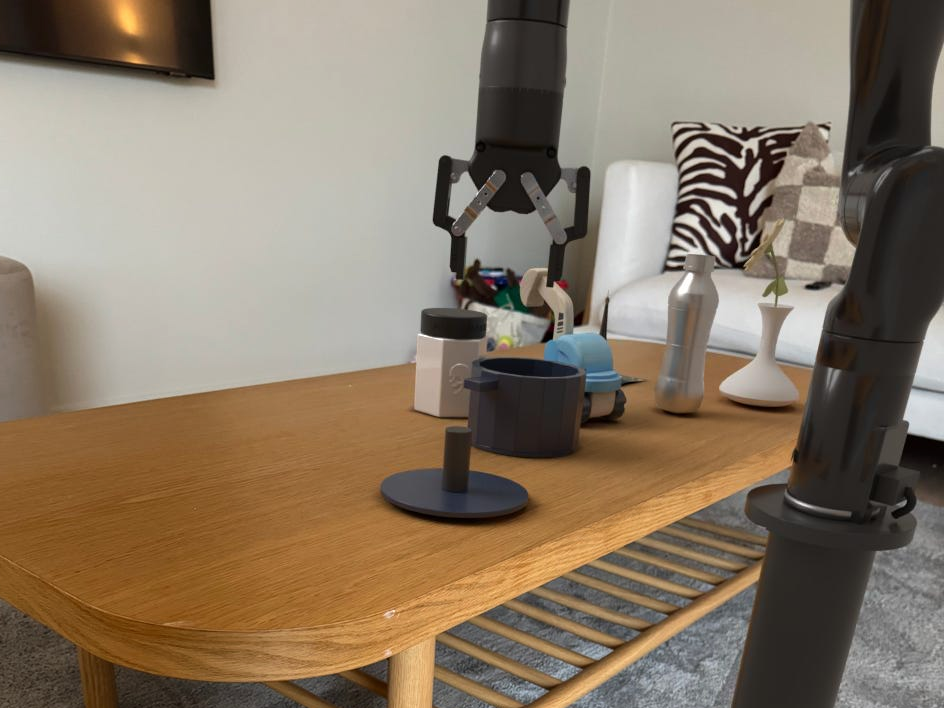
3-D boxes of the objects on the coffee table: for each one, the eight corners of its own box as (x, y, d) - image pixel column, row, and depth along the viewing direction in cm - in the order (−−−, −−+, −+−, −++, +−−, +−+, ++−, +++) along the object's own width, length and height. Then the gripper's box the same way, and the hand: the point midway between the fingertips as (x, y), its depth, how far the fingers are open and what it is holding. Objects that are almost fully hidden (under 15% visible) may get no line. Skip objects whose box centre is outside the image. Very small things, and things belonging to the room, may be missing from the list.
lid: (557, 506, 89) (565, 436, 86) (454, 535, 80) (459, 457, 77) (454, 471, 97) (458, 406, 94) (349, 493, 88) (350, 422, 85)
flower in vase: (742, 392, 147) (775, 216, 137) (810, 407, 140) (852, 222, 130) (695, 401, 139) (727, 213, 128) (766, 417, 132) (806, 220, 121)
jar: (421, 418, 117) (426, 315, 112) (407, 403, 124) (411, 306, 119) (491, 418, 120) (499, 318, 114) (472, 404, 127) (479, 308, 121)
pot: (612, 444, 112) (623, 370, 108) (510, 467, 100) (517, 384, 96) (531, 422, 119) (538, 352, 116) (426, 440, 107) (430, 363, 104)
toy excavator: (544, 397, 134) (557, 266, 127) (629, 424, 122) (650, 281, 115) (496, 401, 129) (507, 265, 122) (580, 430, 117) (598, 281, 110)
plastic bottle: (682, 420, 127) (709, 258, 118) (641, 409, 131) (664, 252, 122) (710, 415, 131) (738, 258, 122) (669, 405, 135) (694, 252, 126)
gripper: (436, 76, 81) (426, 280, 88) (605, 89, 80) (581, 293, 87) (445, 85, 88) (434, 273, 95) (600, 96, 87) (578, 285, 94)
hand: (505, 282), depth 91 cm, fingers open, 8 cm apart
